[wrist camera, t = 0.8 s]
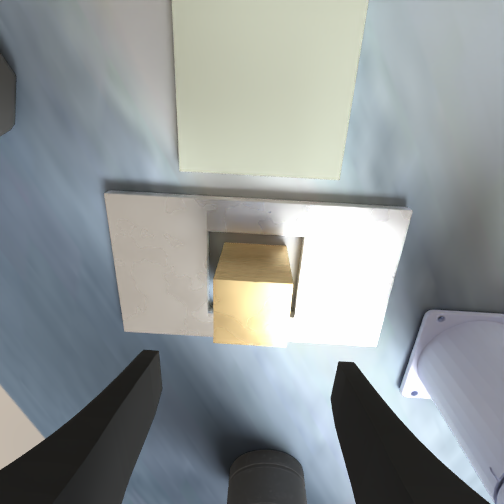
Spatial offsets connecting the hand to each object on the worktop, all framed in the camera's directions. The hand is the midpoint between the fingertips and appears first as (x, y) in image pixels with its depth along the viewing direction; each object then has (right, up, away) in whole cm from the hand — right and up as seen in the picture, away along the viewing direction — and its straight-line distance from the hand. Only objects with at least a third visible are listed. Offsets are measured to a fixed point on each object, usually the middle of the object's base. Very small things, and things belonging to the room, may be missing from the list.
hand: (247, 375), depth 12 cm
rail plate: (0, +4, +8) cm, 9 cm away
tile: (+1, +14, +4) cm, 14 cm away
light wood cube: (0, +4, +8) cm, 9 cm away
